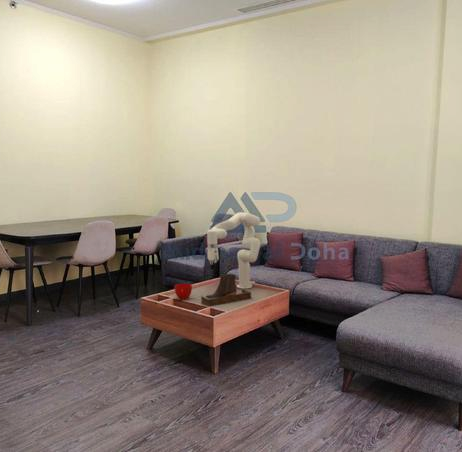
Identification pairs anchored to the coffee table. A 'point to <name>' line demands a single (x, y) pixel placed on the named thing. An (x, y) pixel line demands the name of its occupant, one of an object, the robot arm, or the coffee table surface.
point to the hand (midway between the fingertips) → (212, 269)
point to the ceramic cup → (183, 291)
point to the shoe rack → (226, 298)
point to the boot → (225, 286)
